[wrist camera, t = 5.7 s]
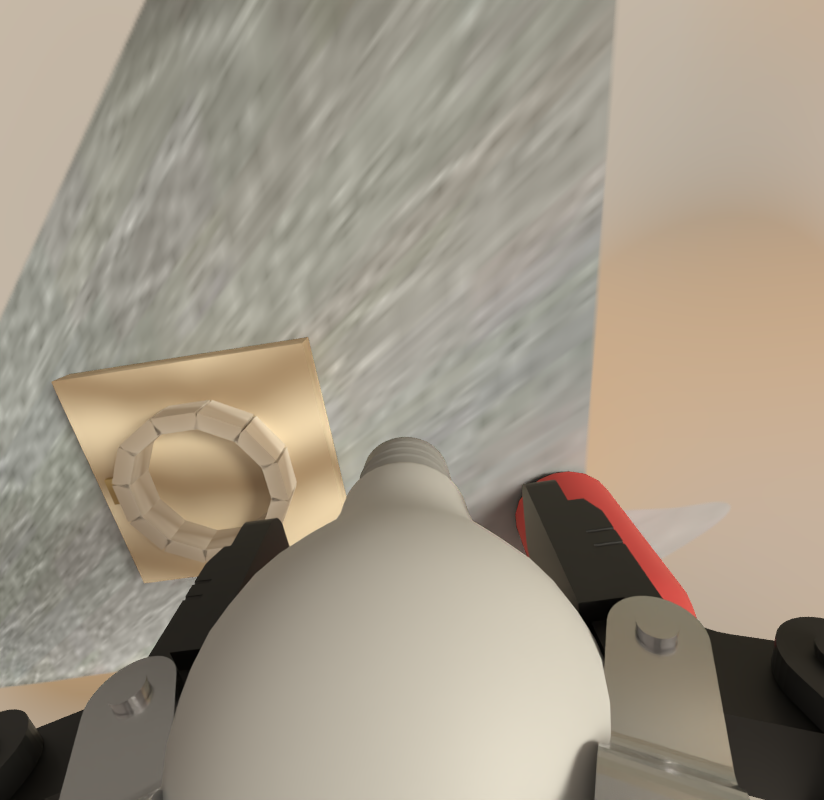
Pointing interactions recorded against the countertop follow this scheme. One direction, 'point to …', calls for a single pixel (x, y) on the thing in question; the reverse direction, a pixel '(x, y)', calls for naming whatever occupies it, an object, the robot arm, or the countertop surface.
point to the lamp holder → (207, 450)
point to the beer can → (639, 547)
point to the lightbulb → (394, 663)
